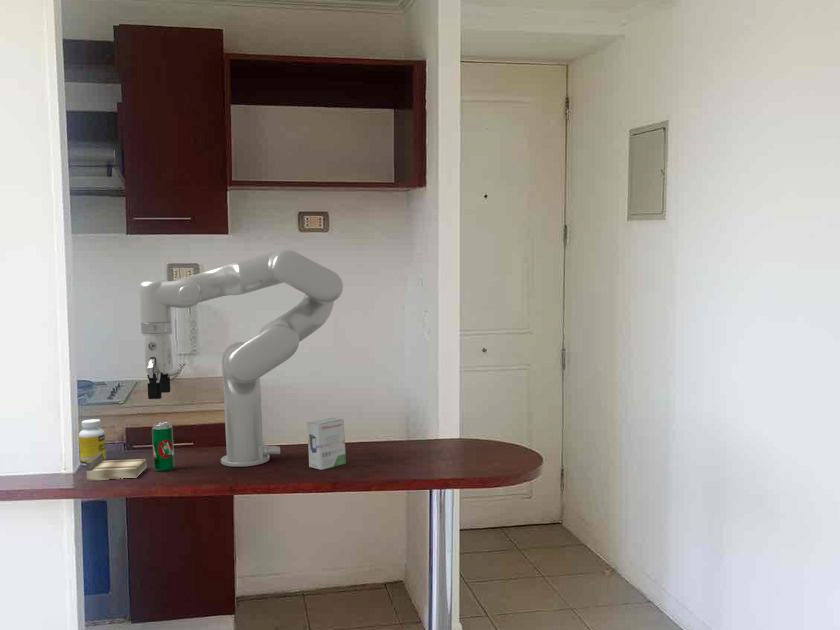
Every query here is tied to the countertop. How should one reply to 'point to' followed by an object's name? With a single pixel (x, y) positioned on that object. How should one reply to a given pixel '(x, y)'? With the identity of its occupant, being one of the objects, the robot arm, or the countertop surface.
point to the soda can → (163, 446)
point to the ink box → (326, 443)
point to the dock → (113, 468)
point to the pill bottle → (91, 440)
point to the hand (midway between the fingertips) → (159, 395)
